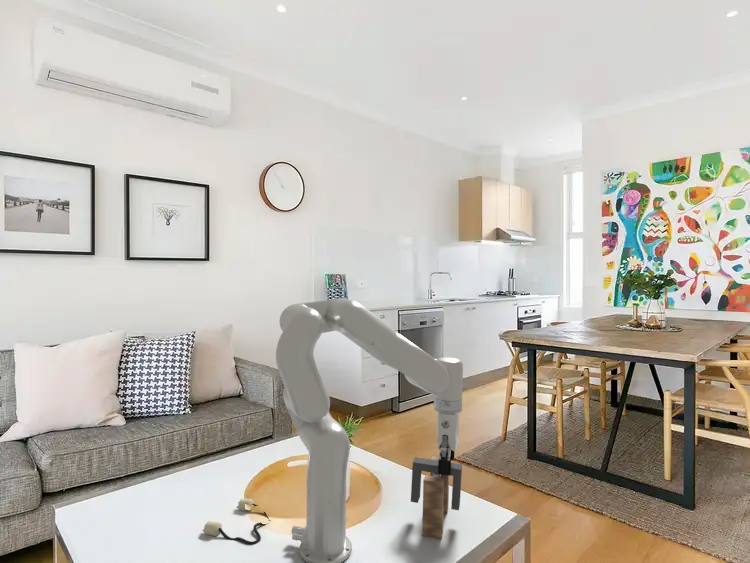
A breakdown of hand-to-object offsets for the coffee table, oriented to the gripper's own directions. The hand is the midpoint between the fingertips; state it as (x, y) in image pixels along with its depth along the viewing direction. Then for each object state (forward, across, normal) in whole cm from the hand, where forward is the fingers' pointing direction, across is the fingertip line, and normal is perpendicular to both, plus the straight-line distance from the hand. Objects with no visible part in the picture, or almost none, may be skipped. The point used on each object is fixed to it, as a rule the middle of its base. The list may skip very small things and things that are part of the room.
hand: (446, 466), depth 126 cm
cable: (+16, -16, +51) cm, 56 cm away
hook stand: (+15, 0, +2) cm, 16 cm away
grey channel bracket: (+10, 0, +3) cm, 11 cm away
